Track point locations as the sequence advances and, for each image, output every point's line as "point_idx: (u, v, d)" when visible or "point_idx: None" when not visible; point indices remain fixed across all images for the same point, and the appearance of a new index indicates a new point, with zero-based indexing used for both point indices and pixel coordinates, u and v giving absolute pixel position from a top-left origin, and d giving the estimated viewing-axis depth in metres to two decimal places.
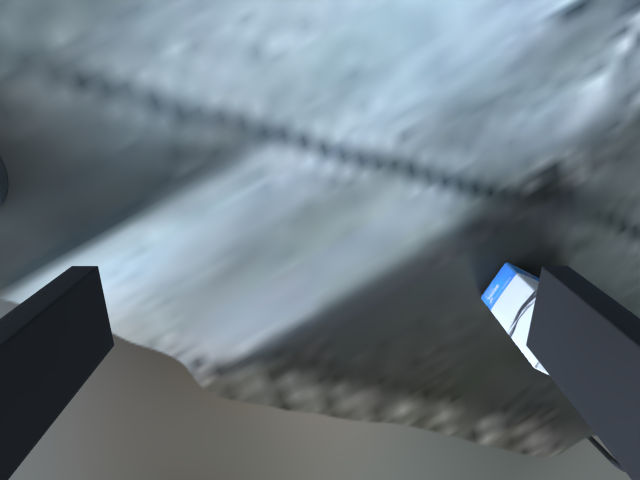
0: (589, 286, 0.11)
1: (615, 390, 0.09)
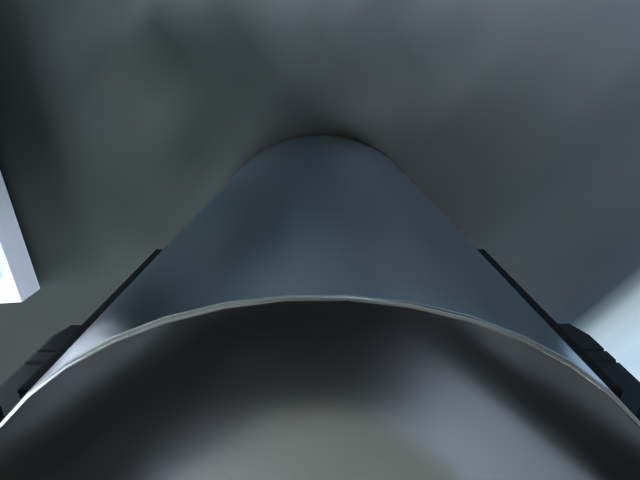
0: (494, 266, 0.12)
1: None
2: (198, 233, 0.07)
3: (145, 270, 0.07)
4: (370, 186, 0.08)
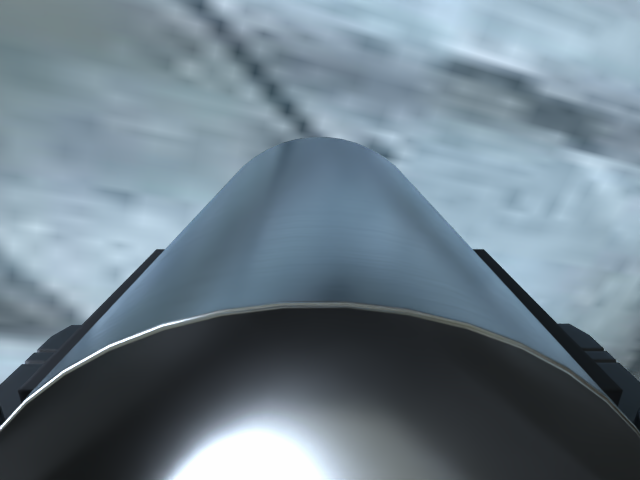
0: (494, 266, 0.12)
1: None
2: (197, 237, 0.07)
3: (144, 274, 0.07)
4: (369, 189, 0.08)
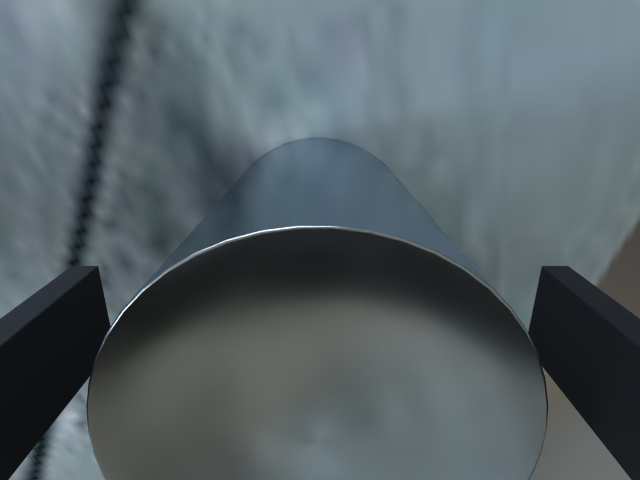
0: (589, 286, 0.11)
1: (615, 390, 0.09)
2: (232, 204, 0.10)
3: (195, 230, 0.09)
4: (355, 174, 0.11)
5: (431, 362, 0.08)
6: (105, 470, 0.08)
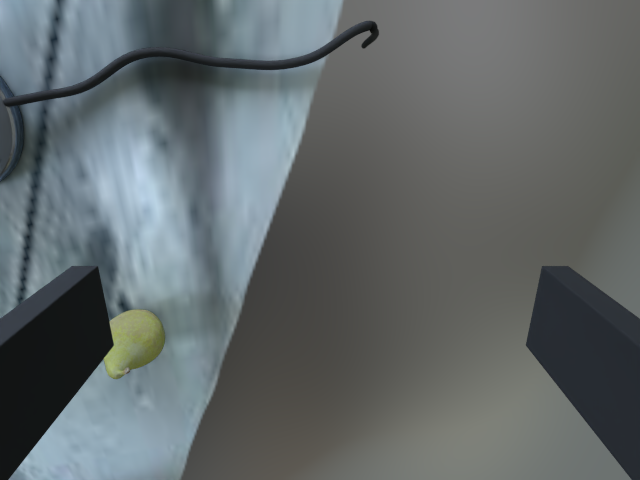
0: (589, 286, 0.11)
1: (615, 390, 0.09)
2: None
3: None
4: None
5: None
6: None
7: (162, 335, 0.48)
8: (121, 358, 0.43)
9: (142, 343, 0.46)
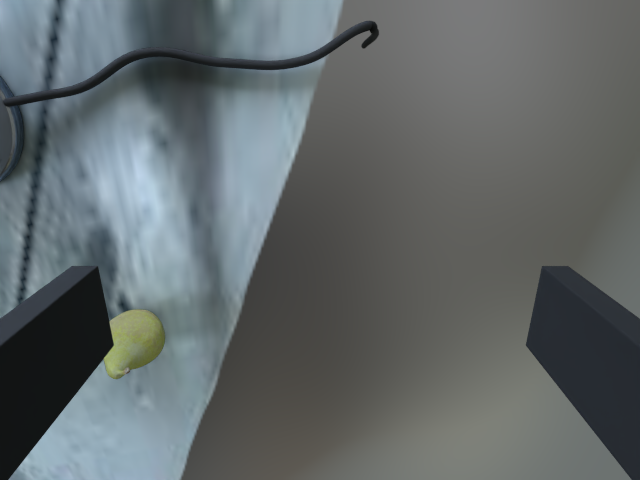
0: (589, 286, 0.11)
1: (615, 390, 0.09)
2: None
3: None
4: None
5: None
6: None
7: (162, 335, 0.48)
8: (121, 358, 0.43)
9: (142, 343, 0.46)
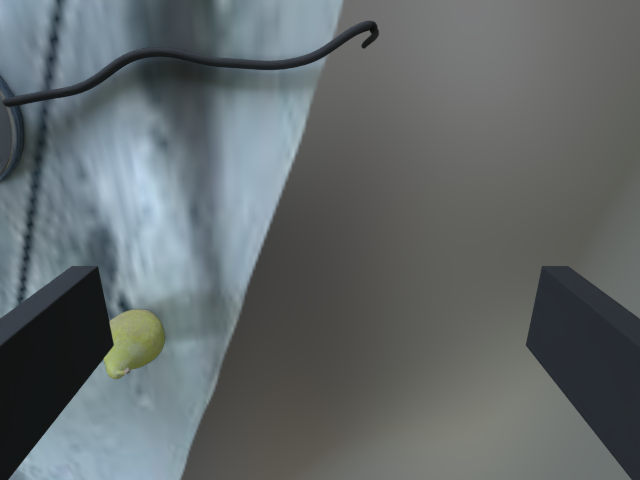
0: (589, 286, 0.11)
1: (615, 390, 0.09)
2: None
3: None
4: None
5: None
6: None
7: (162, 335, 0.48)
8: (121, 358, 0.43)
9: (142, 343, 0.46)
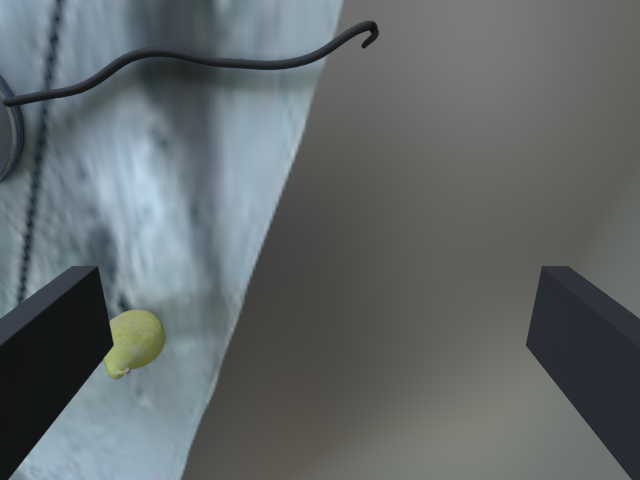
0: (589, 286, 0.11)
1: (615, 390, 0.09)
2: None
3: None
4: None
5: None
6: None
7: (162, 335, 0.48)
8: (121, 358, 0.43)
9: (142, 343, 0.46)
